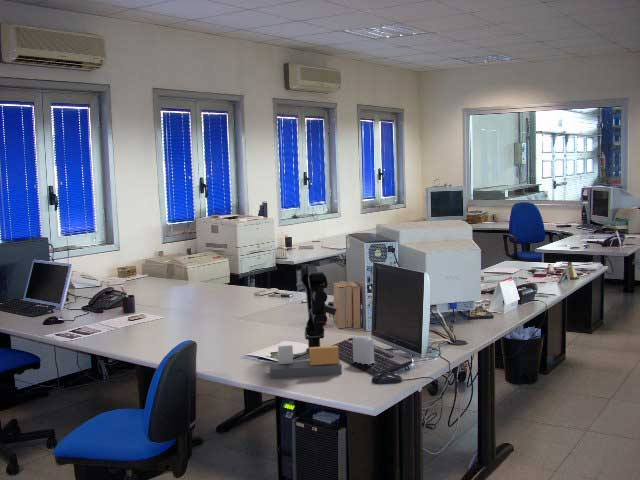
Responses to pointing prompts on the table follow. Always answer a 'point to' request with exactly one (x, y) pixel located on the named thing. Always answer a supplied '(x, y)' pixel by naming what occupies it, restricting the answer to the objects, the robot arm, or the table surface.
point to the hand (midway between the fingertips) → (318, 333)
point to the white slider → (285, 354)
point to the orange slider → (324, 355)
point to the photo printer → (363, 350)
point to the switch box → (303, 369)
